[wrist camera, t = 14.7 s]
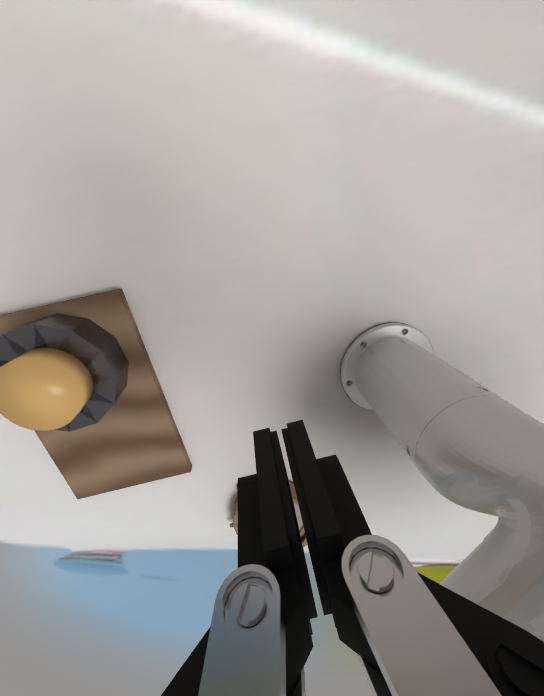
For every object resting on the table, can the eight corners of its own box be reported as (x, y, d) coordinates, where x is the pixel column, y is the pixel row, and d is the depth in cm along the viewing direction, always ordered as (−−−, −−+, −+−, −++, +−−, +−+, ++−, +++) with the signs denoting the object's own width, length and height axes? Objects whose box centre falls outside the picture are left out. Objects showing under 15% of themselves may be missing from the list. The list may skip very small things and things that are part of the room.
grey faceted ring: (148, 360, 35) (138, 375, 32) (91, 426, 38) (75, 448, 34) (50, 292, 31) (26, 300, 28) (-7, 370, 34) (-37, 388, 30)
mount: (191, 465, 43) (190, 471, 42) (81, 492, 43) (77, 499, 42) (121, 288, 33) (117, 290, 32) (-24, 320, 33) (-33, 324, 32)
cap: (121, 362, 35) (95, 392, 29) (84, 405, 37) (52, 443, 30) (59, 320, 33) (16, 343, 26) (22, 368, 34) (-27, 401, 28)
